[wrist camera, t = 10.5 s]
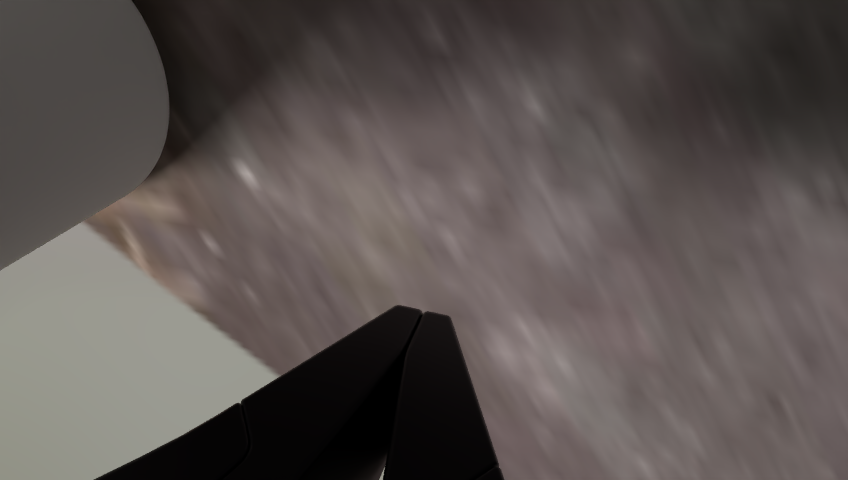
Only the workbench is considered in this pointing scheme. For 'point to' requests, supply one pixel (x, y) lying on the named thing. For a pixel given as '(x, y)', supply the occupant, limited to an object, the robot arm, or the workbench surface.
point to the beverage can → (73, 114)
